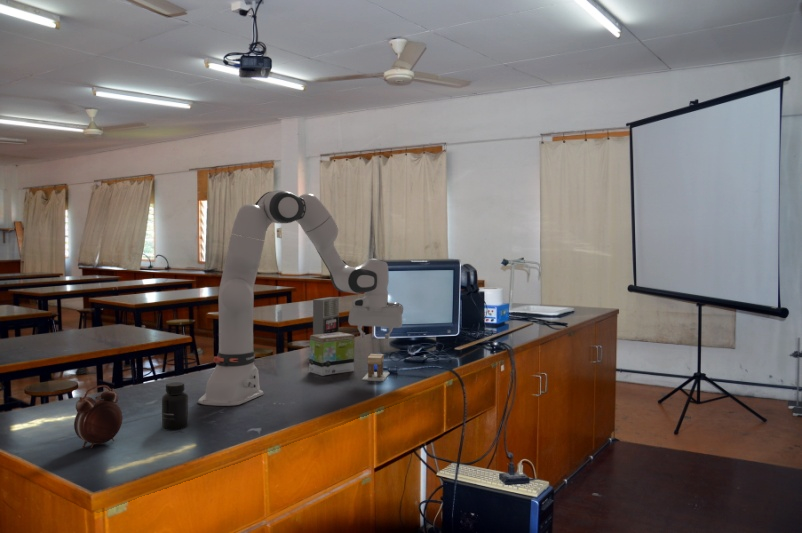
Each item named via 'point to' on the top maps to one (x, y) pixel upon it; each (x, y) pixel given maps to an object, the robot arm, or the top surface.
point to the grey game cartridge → (325, 315)
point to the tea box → (331, 353)
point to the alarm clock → (98, 417)
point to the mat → (374, 377)
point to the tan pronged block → (373, 360)
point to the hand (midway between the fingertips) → (374, 338)
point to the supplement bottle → (174, 407)
